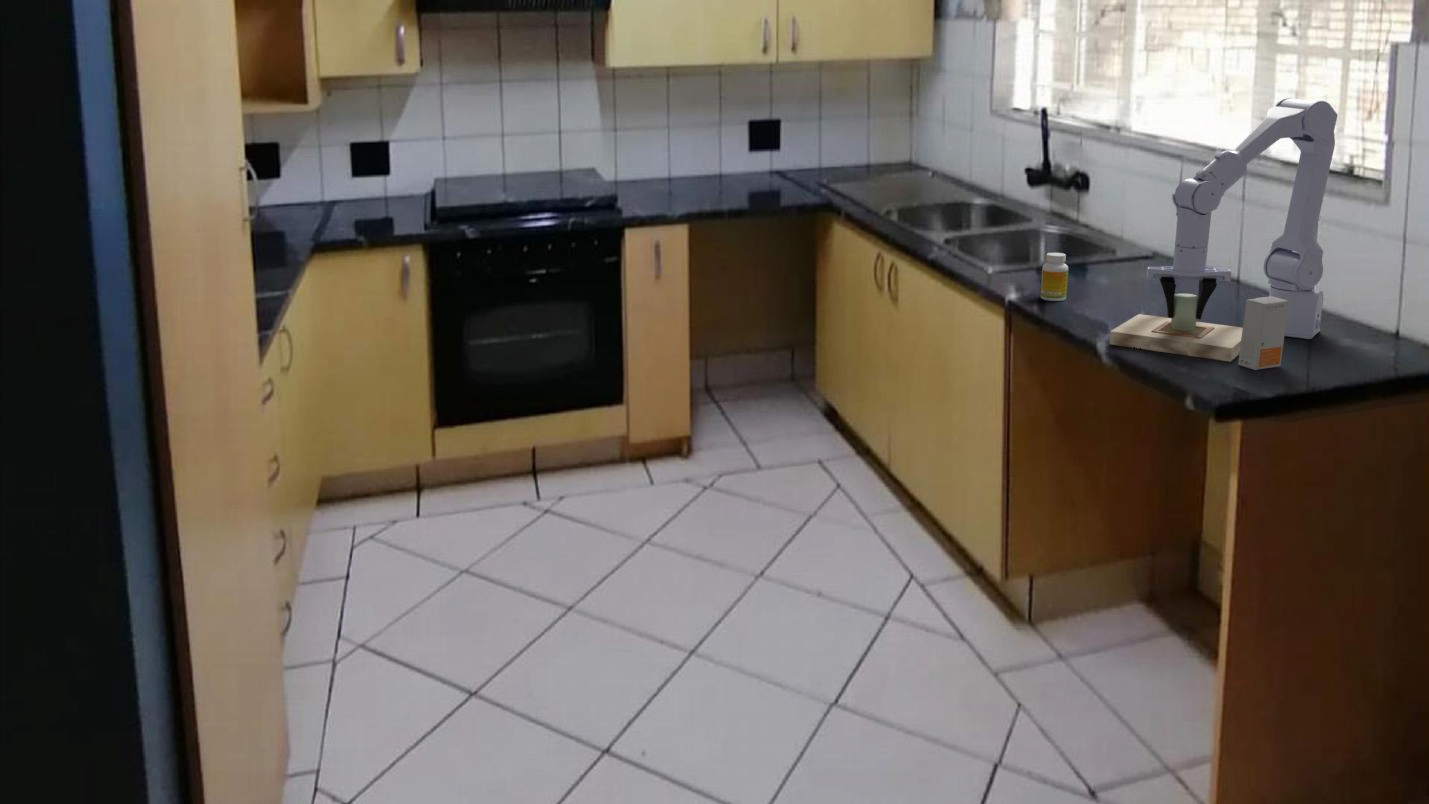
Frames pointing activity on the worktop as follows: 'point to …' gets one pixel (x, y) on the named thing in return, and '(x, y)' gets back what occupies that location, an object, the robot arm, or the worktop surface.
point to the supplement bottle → (1054, 277)
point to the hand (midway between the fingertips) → (1184, 317)
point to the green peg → (1184, 311)
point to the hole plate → (1179, 338)
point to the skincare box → (1263, 332)
